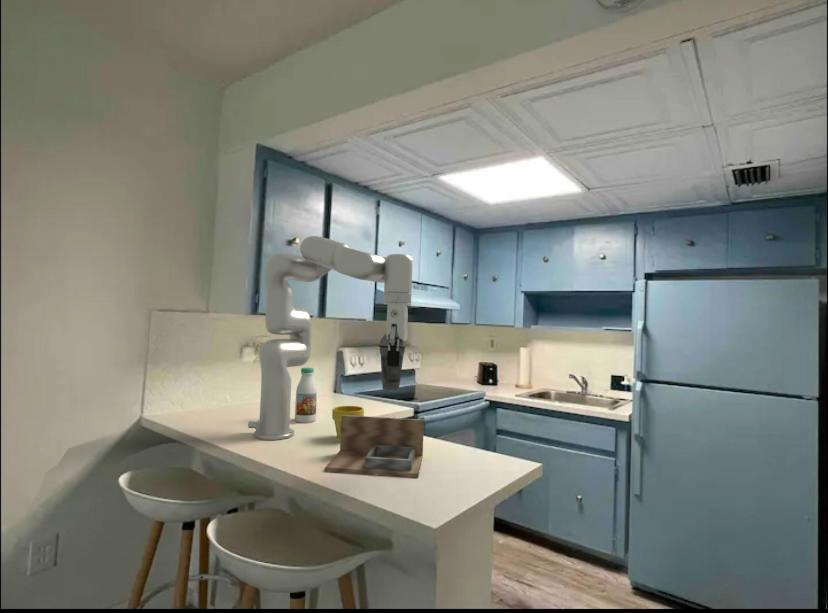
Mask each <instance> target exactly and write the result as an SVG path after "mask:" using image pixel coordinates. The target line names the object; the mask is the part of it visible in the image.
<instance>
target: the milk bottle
mask: <svg viewBox="0 0 828 613" xmlns="http://www.w3.org/2000/svg"><path fill="white" fill-rule="evenodd" d="M300 372H301V373H300V374H301V377H300V379H299V383H297V386H296V392H295V406H294V421H295V422H296V423H299V424H301V423H302V424H308V423H309V424H310V423H313V422H315V421H316V420H317V418H316V417H317V397H318V396H317V394H318V392H317V391H318V390H317V386H316V383H315V380H314V376H313V375H314V368H313V367H301V368H300Z"/></svg>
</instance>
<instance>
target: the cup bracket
mask: <svg viewBox="0 0 828 613" xmlns="http://www.w3.org/2000/svg"><path fill="white" fill-rule="evenodd" d="M424 424H425V419H418V418H416V419H415V418H401V417H382V416H365V415H364V416H350V415H342V416H341V439H340V440H339V441H340V442H339V444H340V446H339V451H338V452H337V453H336V454H335V456H334V457H333V458H332V459H331V460H330V461H329V462H328V463H327V464H326V466H325V467H324V472H328V471H332V472H331V473H342V472H348V473H347V474H357V473H358V474H359V473H362V474H361V475H372V474H378V475H377V476H386V475H391V476H390V477H401V476H404V478H416V477H418V478H419V476H420V472H419V471H421V466H422V463H423V459H422V458H424V457H423V455H424V454H423V453H424V431H425V430H424V428H425V425H424ZM421 462H422V463H421ZM333 471H334V472H333ZM358 474H357V475H358ZM359 475H360V474H359Z"/></svg>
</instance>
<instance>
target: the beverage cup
mask: <svg viewBox="0 0 828 613" xmlns="http://www.w3.org/2000/svg"><path fill="white" fill-rule="evenodd" d="M389 336H390V335H388V338H389ZM405 342H406V341H402V339H400V343H399V351H400V361H399V366H398V367H396V366H387V354H388V345H389V341H388V340H387V338H386V333H385V334H384V335H383V336H382V337H381V339H380V341H379V345H378V347H379V354H380V366H381V367H380V369H381V370H380V372H381V385H382V386H381V387H382V390H385V391H399V390H400V384H401V378H402V370H403V363H402V362H404V361H403V360H404V355H405V351H406V347H407V346H406V343H405Z"/></svg>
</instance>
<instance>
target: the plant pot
mask: <svg viewBox="0 0 828 613" xmlns="http://www.w3.org/2000/svg"><path fill="white" fill-rule="evenodd" d="M331 410H332V411H331V412H332V414H331V416H332V420H334V421H333V422H334V427H335V432H336V438H337V440H339V441H340V439H341V416H342V415H350V416H365V409H364V407H362V406H359V405H358V406H357V405H339V406H335V407H333V408H332V409H331Z"/></svg>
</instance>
